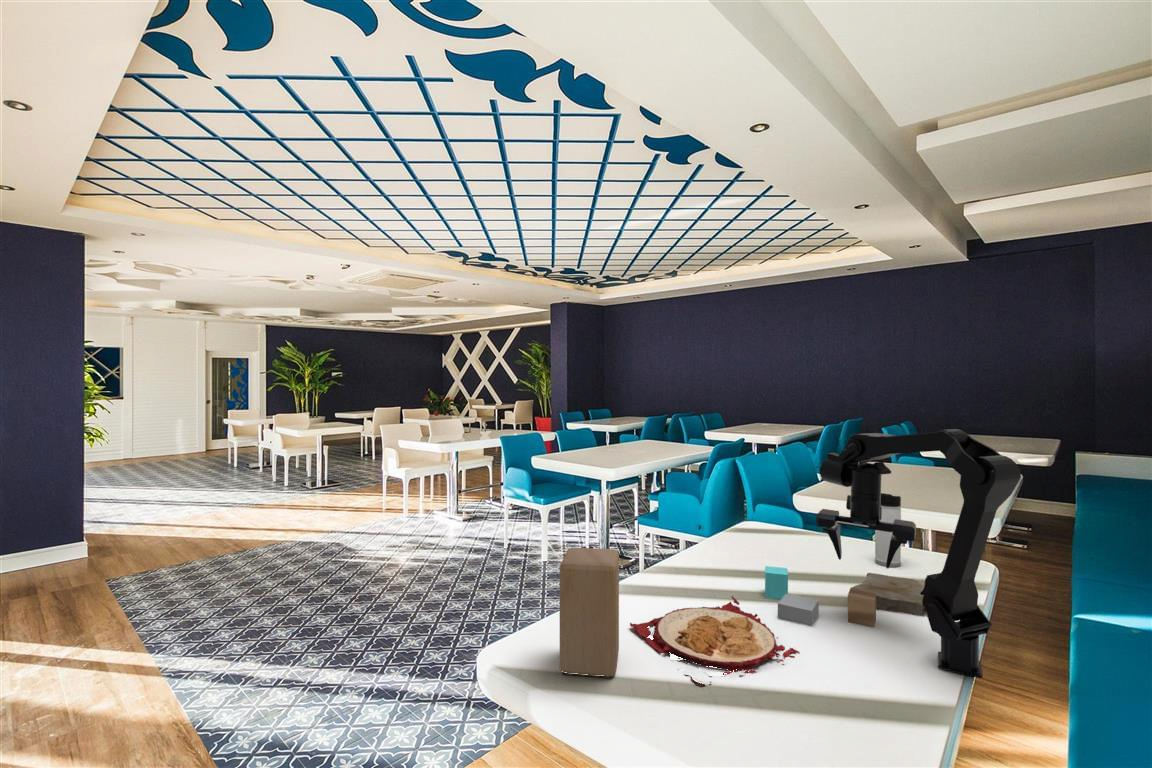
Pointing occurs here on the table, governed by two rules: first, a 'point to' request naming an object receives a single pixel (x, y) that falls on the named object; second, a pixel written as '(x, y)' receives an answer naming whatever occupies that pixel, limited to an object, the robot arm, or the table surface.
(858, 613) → the walnut cube
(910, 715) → the table surface
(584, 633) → the block
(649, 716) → the table surface
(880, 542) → the travel mug
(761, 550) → the table surface
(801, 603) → the grey slab
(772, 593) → the teal cube
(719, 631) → the plate with food
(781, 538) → the table surface
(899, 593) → the marble piece
